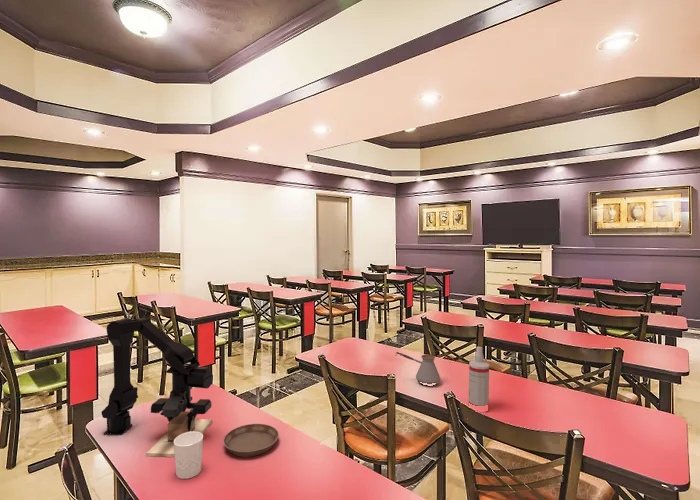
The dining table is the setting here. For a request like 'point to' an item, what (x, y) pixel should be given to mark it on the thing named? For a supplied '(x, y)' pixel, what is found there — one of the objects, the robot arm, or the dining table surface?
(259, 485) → the dining table surface
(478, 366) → the grey nozzle bottle
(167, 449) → the board
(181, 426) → the block
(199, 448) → the white cup
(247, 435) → the plant saucer
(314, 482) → the dining table surface
